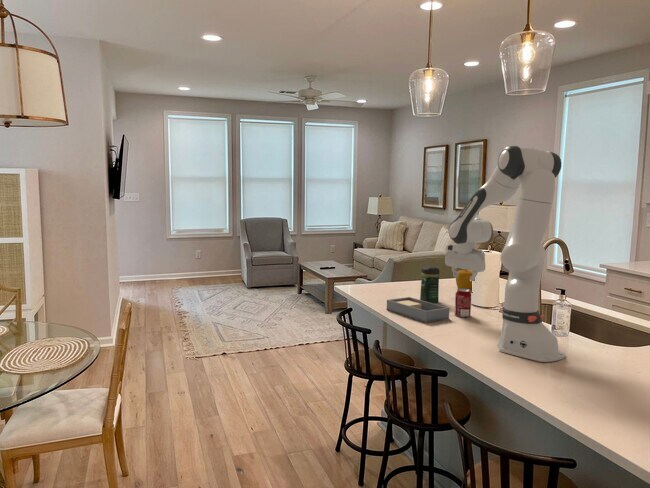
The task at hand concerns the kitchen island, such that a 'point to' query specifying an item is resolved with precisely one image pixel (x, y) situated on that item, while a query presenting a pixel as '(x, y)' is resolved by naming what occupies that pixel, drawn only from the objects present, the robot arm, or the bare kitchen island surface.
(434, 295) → the coffee jar
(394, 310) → the tray
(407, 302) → the tan square block
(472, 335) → the kitchen island surface
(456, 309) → the soda can
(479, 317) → the kitchen island surface
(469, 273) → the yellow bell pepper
